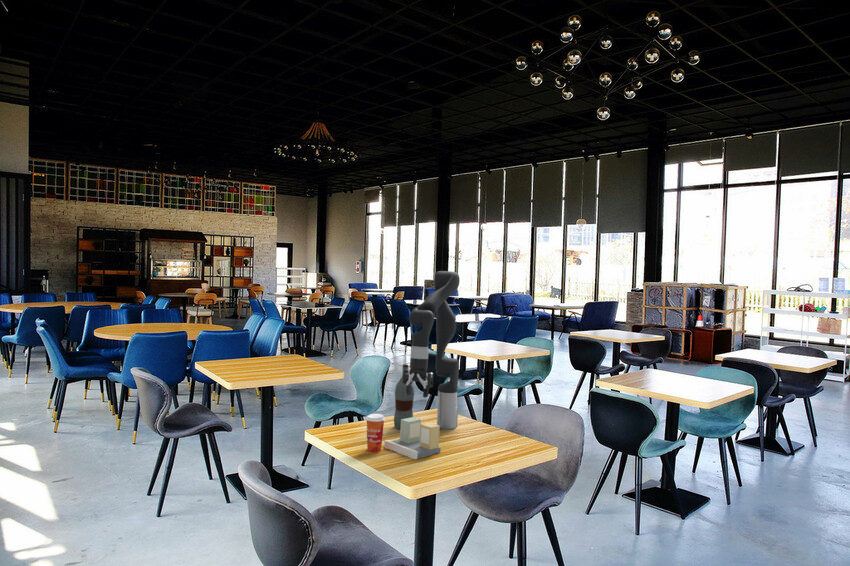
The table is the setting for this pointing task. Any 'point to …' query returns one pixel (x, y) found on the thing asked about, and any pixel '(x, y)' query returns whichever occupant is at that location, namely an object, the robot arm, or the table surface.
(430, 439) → the mustard box
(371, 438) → the paper cup
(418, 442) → the display board
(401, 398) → the bottle
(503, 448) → the table surface
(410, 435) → the tea box
